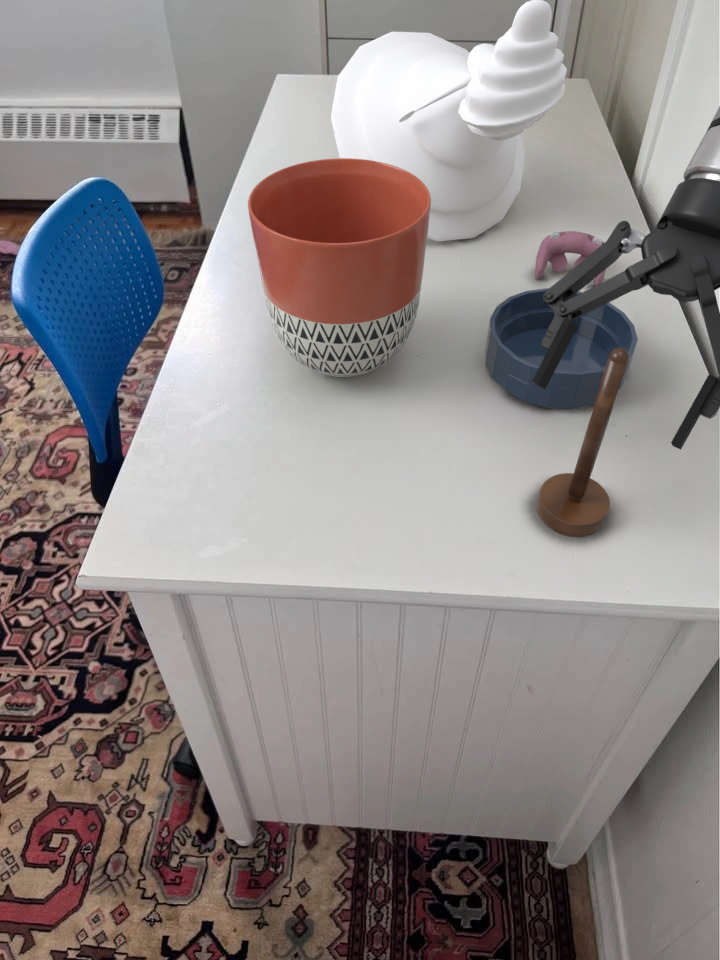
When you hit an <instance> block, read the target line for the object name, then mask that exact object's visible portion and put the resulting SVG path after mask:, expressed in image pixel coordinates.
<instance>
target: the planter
mask: <svg viewBox="0 0 720 960" xmlns="http://www.w3.org/2000/svg"><path fill="white" fill-rule="evenodd" d="M430 207H431V196H430V193H429V190H428V189H427V187H426V186H425V184H424V183H423V182H422V181H421V180H420V179H419V178H417V177H416V176H414V175H413V174H411V173H409V172H408V171H406V170H403V169H401V168H398V167H396V166H393V165H389V164H386V163H382V162H377V161H371V160H364V159H350V158H340V157H339V158H324V159H323V158H322V159H317V160H316V159H315V160H310V161H304V162H301V163H296V164H293V165H290V166H286V167H284V168H282V169H280V170H277V171H275V172H273V173H271V174H269V175H268V176H266V177H265V178H263V179H262V180H260V181H259V182H258V183H257V184H256V185H255V187H253V189H252V190H251V192H250V193H249V197H248V200H247V210H248V215H249V222H250V228H251V233H252V238H253V243H254V247H255V253H256V258H257V262H258V263H257V264H258V267H259V268H258V269H259V274H260V279H261V284H262V290H263V294H264V299H265V305H266V308H267V313H268V317H269V321H270V322H271V325H272V328H273V330H274V332H275V334H276V336H277V338H278V340H279V341H280V343H281V345H282V346H283V348H284V349H285V350H286V352H288V353H289V355H291V357H293V358H294V359H295V360H296V361H297V362H299V363H300V364H301V365H303V366H305V367H307V368H308V369H310V370H312V371H315V372H317V373H320V374H323V375H326V376H331V377H339V378H343V377H345V378H346V377H347V378H348V377H356V376H360V375H364V374H367V373H370V372H372V371H375V370H376V369H378V368H380V367H383V365H385V364H386V363H388V362H389V361H390V360H392V359H393V357H395V356H396V355H397V354H398V353H399V351H401V349H402V348H403V347H404V345H405V344H406V342H407V340H408V339H409V336H410V334H411V331H412V329H413V328H414V324H415V321H416V318H417V315H418V310H419V305H420V299H421V298H420V297H421V292H422V291H421V290H422V284H423V283H422V282H423V276H424V275H423V274H424V267H425V259H426V250H427V249H426V248H427V240H428V238H427V234H428V227H429V218H430Z"/></svg>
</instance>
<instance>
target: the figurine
mask: <svg viewBox="0 0 720 960" xmlns="http://www.w3.org/2000/svg"><path fill="white" fill-rule="evenodd" d="M552 17H553V10H552V6H551V5H550V4H549V3H548V2H547V1H545V0H528V1H525V2H524V4H521V6H520V7H519V8H518V9H517V11H516V13H515V15H514V17H513V21H512V25H511V27H510V28H509V29H508V30H507V31H506V32H505V33H504V34H503V35H501V36H500V37H499V38H498V39H497V40H496V42H495V44H492V43H486V42H485V43H480V44H477V45H475V46H474V47H473V48H472V50H471V51H470V52H469V51H468V50H467V49H466V48H464V47H462V46H460V45H458V44H455V43H453V42H450V41H449V40H447V39H444V38H442V37H440V36H437V35H436V34H433V33H431V32H419V31H417V32H415V31H389V32H388V33H385V34H384V35H381V36H379V37H378V38H375V39H373V40H371V41H369V42H366V43H364V44H362V45H360V46H358V48H357V49H356V50H355V52H354V53H353V55H352V56H351V57H350V58H349V60H348V61H347V63H346V64H345V66H344V67H343V68H342V69H341V71H340V72H339V74H338V75H337V80H336V84H335V89H334V96H333V102H332V108H331V113H330V120H331V125H332V129H333V135H334V140H335V143H336V148H337V153H338V157H339V158H350V159H364V160H371V161H377V162H382V163H386V164H389V165H393V166H396V167H398V168H401V169H403V170H406V171H408V172H409V173H411V174H413V175H414V176H416V177H417V178H419V179H420V180H421V181H422V182H423V183H424V184H425V186H426V187H427V189H428V190H429V193H430V196H431V207H430V218H429V227H428V234H427V239H429V240H431V241H436V242H445V241H446V242H447V241H457V240H458V241H459V240H466V239H467V240H468V239H469V240H470V239H474V238H476V237H478V236H479V235H480V234H483V233H484V232H486V231H488V230H489V229H490V228H492V227H494V226H495V225H497V224H498V223H500V222H501V221H503V220H504V218H505V216H506V215H507V214H508V211H509V210H510V208H511V206H512V205H513V203H514V201H515V200H516V198H517V196H518V195H519V193H520V192H521V188H522V179H523V173H524V164H525V158H526V150H525V147H524V146H525V145H524V142H523V141H524V140H523V136H522V132H524V131H525V130H527V129H530V128H531V127H532V126H534V124H537V123H538V122H539V121H541V120H542V119H543V118H544V117H545V116H546V114H547V112H548V111H549V110H551V109H552V108H554V107H555V106H556V105H557V103H558V102H559V101H560V100H561V98H562V97H564V95H565V89H566V84H565V80H566V76H567V73H568V68H567V67H566V66H565V64H564V63H563V61H564V59H565V54H564V53H563V52H562V51H561V49H560V48H557V47H558V44H559V36H558V35H557V34H556V33H555V32H552V31H550V29H551V24H552V19H553V18H552Z"/></svg>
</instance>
